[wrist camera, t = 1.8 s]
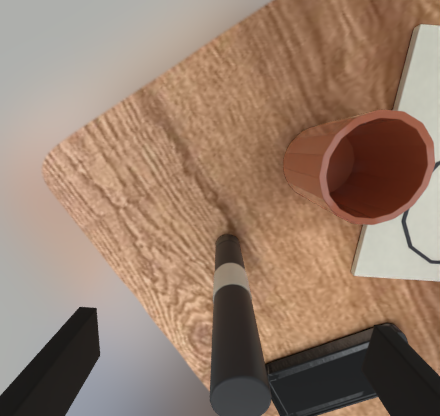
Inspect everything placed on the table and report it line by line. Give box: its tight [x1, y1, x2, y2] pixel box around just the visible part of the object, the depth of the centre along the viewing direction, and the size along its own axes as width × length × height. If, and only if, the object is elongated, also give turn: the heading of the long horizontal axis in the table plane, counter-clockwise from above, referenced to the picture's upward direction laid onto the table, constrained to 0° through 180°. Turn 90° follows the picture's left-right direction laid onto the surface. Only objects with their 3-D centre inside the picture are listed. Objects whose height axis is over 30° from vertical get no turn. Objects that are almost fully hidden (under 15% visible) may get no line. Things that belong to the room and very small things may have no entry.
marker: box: [210, 234, 271, 416], centre depth 14 cm, size 2×2×13 cm
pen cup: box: [283, 109, 435, 225], centre depth 15 cm, size 6×6×7 cm
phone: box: [265, 324, 408, 416], centre depth 24 cm, size 8×1×15 cm
